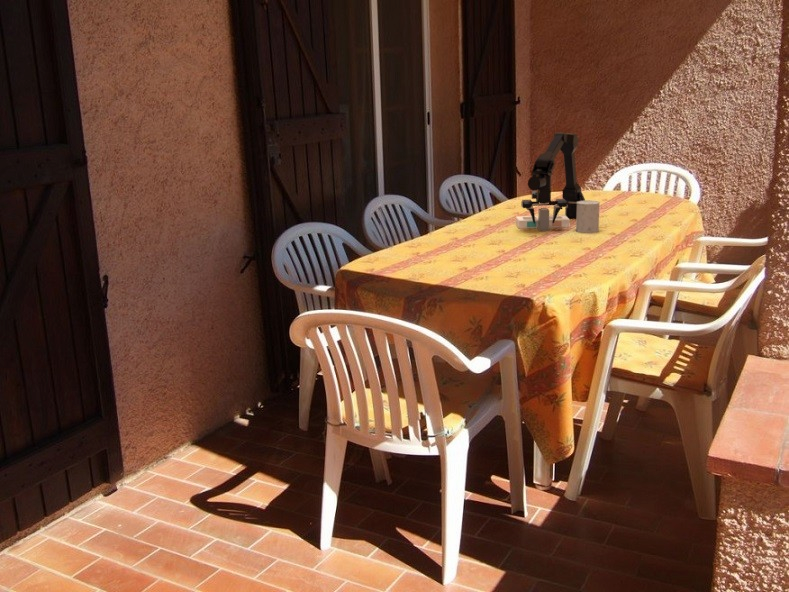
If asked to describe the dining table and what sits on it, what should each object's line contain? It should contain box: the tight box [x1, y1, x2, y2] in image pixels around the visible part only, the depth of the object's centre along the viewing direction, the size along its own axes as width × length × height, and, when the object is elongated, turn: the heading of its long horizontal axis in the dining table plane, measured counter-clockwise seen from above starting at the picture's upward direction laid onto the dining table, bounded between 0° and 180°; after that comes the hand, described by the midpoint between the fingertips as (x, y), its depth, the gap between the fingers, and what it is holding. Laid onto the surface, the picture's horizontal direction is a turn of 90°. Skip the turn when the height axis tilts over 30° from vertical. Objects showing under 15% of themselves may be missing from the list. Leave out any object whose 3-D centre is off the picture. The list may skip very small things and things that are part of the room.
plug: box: [537, 207, 550, 232], centre depth 378 cm, size 4×4×10 cm
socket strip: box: [515, 214, 571, 230], centre depth 388 cm, size 22×10×4 cm, turn 90°
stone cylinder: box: [575, 200, 600, 234], centre depth 373 cm, size 10×10×12 cm
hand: (543, 223), depth 378 cm, fingers open, 8 cm apart
